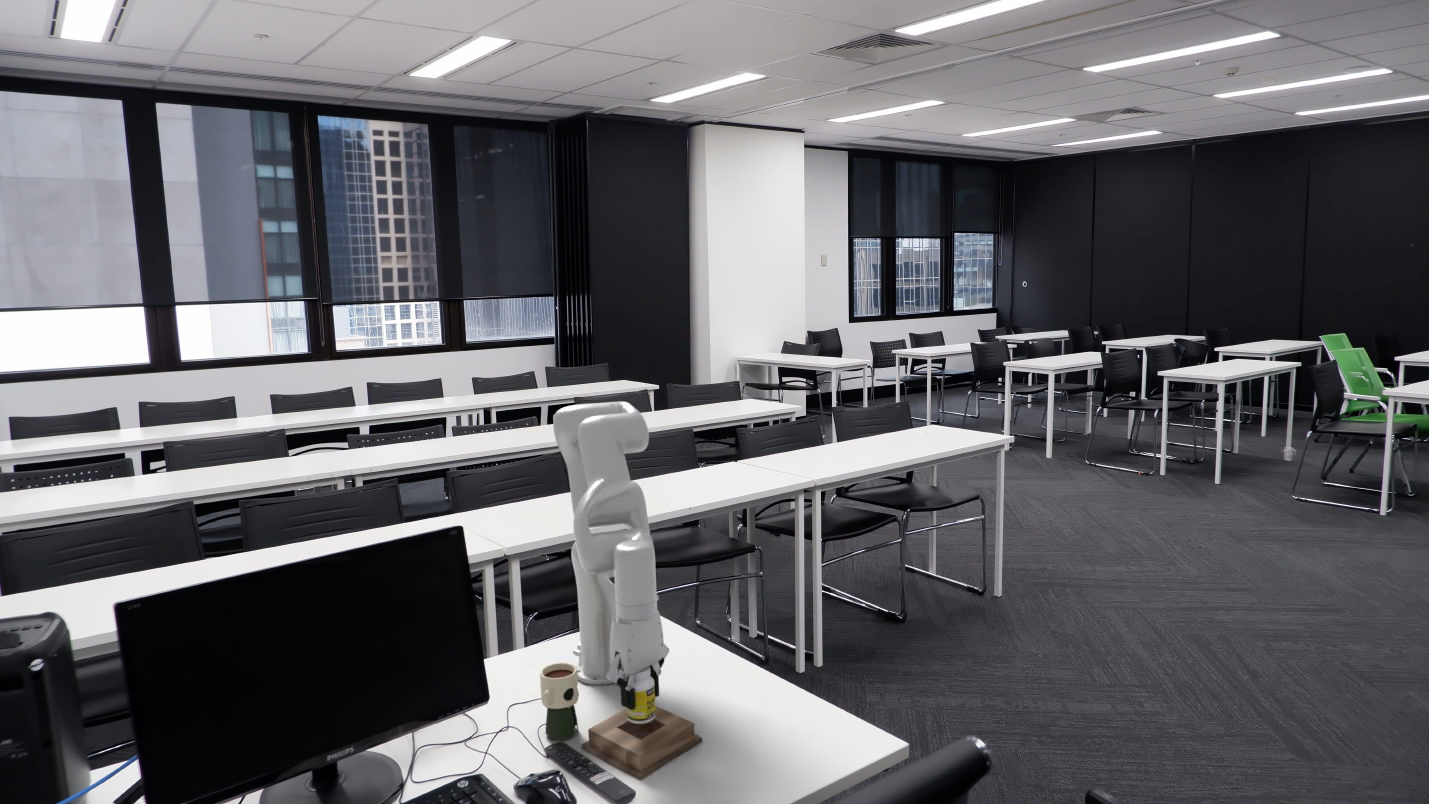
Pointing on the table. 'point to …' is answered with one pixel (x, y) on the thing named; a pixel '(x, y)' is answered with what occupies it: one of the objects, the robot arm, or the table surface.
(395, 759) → the table surface
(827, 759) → the table surface
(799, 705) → the table surface
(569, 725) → the character mug
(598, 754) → the bottle holder
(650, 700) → the supplement bottle
